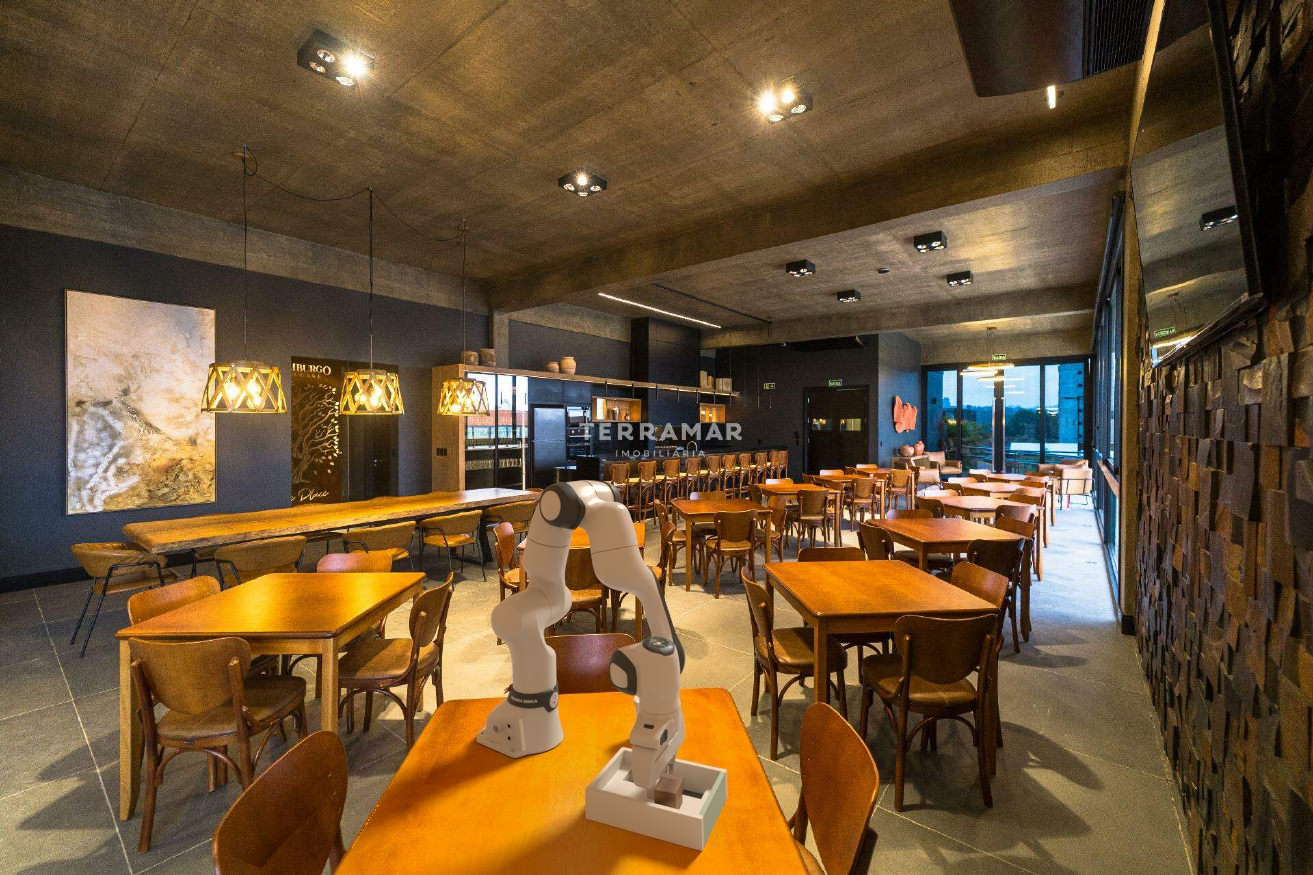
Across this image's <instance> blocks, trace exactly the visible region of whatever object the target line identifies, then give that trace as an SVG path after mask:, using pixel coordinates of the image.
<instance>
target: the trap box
mask: <svg viewBox="0 0 1313 875" xmlns="http://www.w3.org/2000/svg"><path fill="white" fill-rule="evenodd" d="M631 754H632V748H629V747H625V746H622V747H621V748H620V749H618V751H617V752H616V753H615V754H614V756H612V758H611V759H610V760H609V761H608V762H607V764H606V765H605V766H604V767H603V768H602V769H601V770H600V771H599V772H598V774H597V775H596V776H595V777H594V778H593V779H592V781H590V782H589V784H588V785H587V786H586V788H584V795H585V796H584V797H585V798H584V802H585V806H584V807H585V819H586V820H589V821H594V822H596V823H600V824H604V825H607V826H611V827H614V828H615V827H616V828H618V829H622V830H624V831H629V832H632V833H636V834H640V835H643V836H645V837H646V836H647V837H650V838H653V839H658V840H661V841H664V842H668V843H672V844H675V845H678V846H682V847H686V848H689V849H692V850H696V851H700V852H703V851H704V849H705V847H706V844H707V842H708V840H709V838H710V835H711V833H712V831H713V829H714V827H715V825H716V823H717V820H718V818H719V816H720V815H721V812H722V811H723V807H724V806H725V803H726V802H727V799H728V770H727V769H726V768H720V767H716V766H710V765H708V764H707V765H705V764H702V763H698V762H693V761H688V760H684V759H679V758H676V760H675V770H674V772H673V773H672V774H666V773H665V769H664V770H663V772H662V773H661V775H660V776H659V777H658V779H657V780H656V784H655V787H656V785H657V783H658V782H659V780H660V778H661V777H666V778H671V779H677V780H682V797H683V803H682V805H681V807H680V809H679V810H678V809H674V808H670V807H667V806H663V805H659V804H655V803H654V800H650V799H648V798H647V790H646V789H645V788H641V787H637V786H636V785H635V784H634V782H633V778H632V761H631Z"/></svg>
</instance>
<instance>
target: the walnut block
mask: <svg viewBox="0 0 1313 875" xmlns="http://www.w3.org/2000/svg"><path fill="white" fill-rule="evenodd" d="M654 803H655V804H659V805H663V806H667V807H670V808H674V809H678V810H679V809H680V807H681V805H682V803H683V797H682V780H677V779H671V778H666V777H661V778H660V780H659V782H658V783H657V785H656V787H655V789H654Z"/></svg>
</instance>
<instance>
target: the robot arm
mask: <svg viewBox="0 0 1313 875" xmlns="http://www.w3.org/2000/svg"><path fill="white" fill-rule="evenodd" d="M531 518H532V519H531V520H530V524H529V527H528V532H527V536H526V542H525V545H524V550H523V553H522V554H523V555H522V558H521V565H522V568H523V570H524V571H525V572H526V573H527V574H528V585H527V586H526V588H525V589H524V590H521V591H518V592H517V593H514V594H511V595H508V596H507V597H506V598H504V599H503V600H501V601H500V602H499V603H498V604H497V605H495V607H494V608H493V610H492V611H491V617H490V624H491V629H492V631H493V633H494V634H495V636H496V637H498V638H499V639H500V640H501V641H503V642H505V644H506V645H507V647H508V650H509V653H510V654H509V655H510V657H511V670H512V671H511V672H512V683H510V684H509V685H508V686H507V687H506V688H505V689H503V691H504V692H503V695H506V694H507V693H508V695H507V697H506V698H505V699H504V700H502V701H501V702H500V703H499V704H498V705H496V706H495V707H494V708H493V709H492V710H490V712H489V713H488V715H487V717H486V718H487V719H486V723H485V726H484V727H483V728H482V729H480V731H479V732H478V733H477V735H476V738H475V741H476V743H478V744H480V745H483V746H485V747H486V748H487V747H488V748H490V749H492V750H494V751H496V752H499V753H501V754H503V755H505V756H508V757H511V758H512V759H517V758H521V757H524V756H526V755H534V754H538V753H543V752H546V751H549V750H551V749H553V748H555V747H557V746H558V745H559V744H561V742H563V739H564V735H565V734H564V731H563V728H562V723H561V720H560V715H559V714H560V713H559V682H558V680H557V654H556V651H555V649H554V648H552V647H551V646H550V645H548V644H547V642H546V640H545V635H544V634H545V633H544V631H545V628H548V627H550V626H551V625H554V624H555V623H558V622H559V621H560V620H561V619H563V618H564V617H565V615H567V613H568V612H569V611H570V610H571V608H572V604H573V597H572V593H571V591H570V589H569V588H568V587H567V585H566V579H565V578H566V574H565V573H566V566H567V561H568V556H569V551H570V548H571V547H570V546H571V542H572V538H573V534H574V533H573V532H574V530H577V529H578V528H580V529H582V530H584V531H585V533H586V534H587V537H588V542H589V548H590V554H591V561H592V562H591V563H592V568H593V571H594V575H595V576H596V578H597V579H598V580H599V581H600V583H602V584H603V585H604V586H606V587H608V588H609V589H613V590H615V591H619V592H623V593H629V594H631V595H632V596H635V597H636V598H637V599H638V601H640V603H641V605H642V608H643V612H644V614H645V617H646V618H645V619H646V621H647V623H648V627H649V629H650V630H649V631H650V635H651V636H650V637H649V636H648V637H646V638H645V639H643V640H642V641H640V642H636V643H631V644H628V645H624V646H621V647H620V648H618V649H615V650H614V651H613V652H612V654H611V655H610V659H609V663H608V676H609V680H610V683H611V685H612V686H613V687H614V688H615V689H617V691H619V692H621V693H623V694H625V695H628V696H633V697H635V696H638V697H639V713H638V715H636V718H635V719H636V720H635V722H634V725H633V727H632V729H631V731H630V733H629V743H630V744H632V748H631V749H632V754H631V761H632V778H633V782H634V784H635V785H636V786H637V787H641V788H645V789H646V790H647V798H648V799H650V800H654V789H655V784H656V780H657V779H658V777H659V776H660V775H661V773H662V772H663V770H664V769H665V773H666V774H672V773H673V772H674V770H675V760H676V759H677V756H678V754H677V753H678V750H679V749H680V747H681V746H682V744H683V743H684V741H685V737H686V730H685V718H684V714H683V712H682V703H681V698H680V687H681V675H682V673H683V671H684V668H685V664H686V652H685V648H684V647H683V645H682V643H681V642H682V641H681V640H680V638H679V637H678V634H677V632H676V630H675V626H674V623H673V621H672V618H671V613H670V610H669V608H668V605H667V601H666V599H665V596H664V592H663V589H662V587H661V584H660V581H659V578H658V576H657V574H656V573H655V571H654V570H653V569H652V568H650V567H649V566H647V564H646V562H645V560H644V559H643V557H642V554H641V552H640V548H639V542H638V538H637V533H636V529H635V525H634V521H633V520H632V517H631V513H630V512H629V510H628V508H627V506H626V505H624V504H623V503H622V496H621V492H620V490H619V489H618V488H617V487H616V486H615V485H614V484H613V483H611V482H608V481H605V480H587V479H585V480H583V479H581V480H576V481H575V480H574V481H566V482H565V481H560V482H556V483H553V484H550V485H548V486H547V487H545V488H544V489H543V491H542V492H541V494H540V497H539V501H538V503H537V505H536V508H535V510H534V513H533V515H532V517H531Z"/></svg>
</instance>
